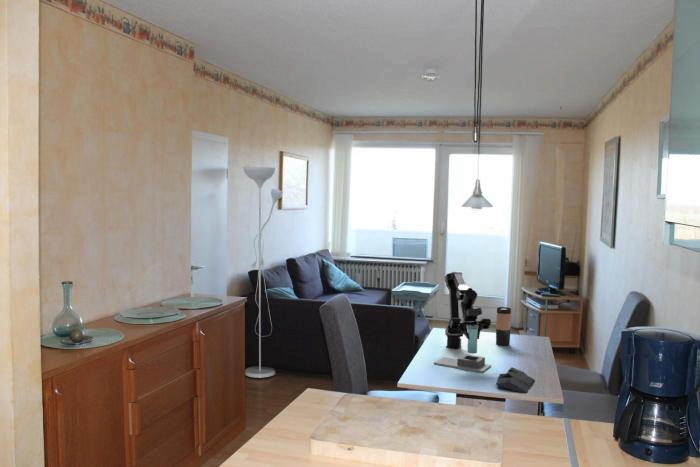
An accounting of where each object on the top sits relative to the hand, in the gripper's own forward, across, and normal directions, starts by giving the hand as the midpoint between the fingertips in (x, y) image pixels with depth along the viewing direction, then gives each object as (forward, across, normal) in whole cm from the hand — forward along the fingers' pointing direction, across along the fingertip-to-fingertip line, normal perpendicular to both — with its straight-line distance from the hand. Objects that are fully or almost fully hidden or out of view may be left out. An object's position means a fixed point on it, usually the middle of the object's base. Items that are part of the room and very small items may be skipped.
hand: (473, 338), depth 273 cm
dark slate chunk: (+27, +11, -8) cm, 30 cm away
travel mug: (-20, +29, +40) cm, 54 cm away
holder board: (+8, -4, +12) cm, 14 cm away
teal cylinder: (+4, 0, +6) cm, 7 cm away
